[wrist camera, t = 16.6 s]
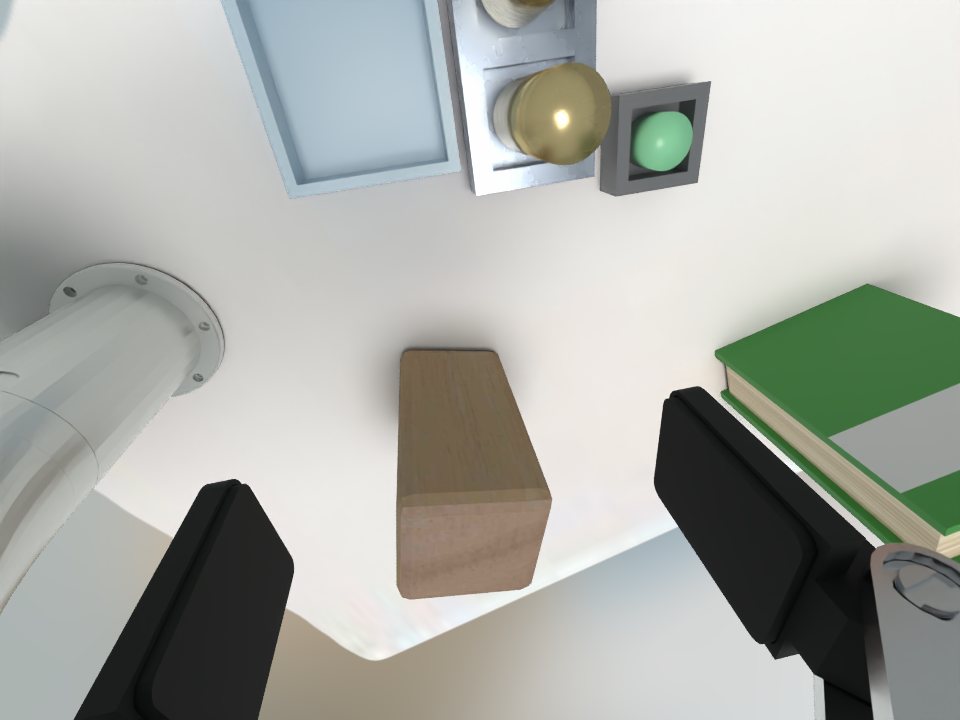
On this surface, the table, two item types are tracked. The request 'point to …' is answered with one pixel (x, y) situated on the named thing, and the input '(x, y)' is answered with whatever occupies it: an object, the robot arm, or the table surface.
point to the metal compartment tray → (500, 60)
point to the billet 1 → (516, 11)
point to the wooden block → (464, 479)
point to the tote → (348, 89)
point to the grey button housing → (616, 143)
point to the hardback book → (863, 408)
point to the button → (660, 140)
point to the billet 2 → (554, 113)
